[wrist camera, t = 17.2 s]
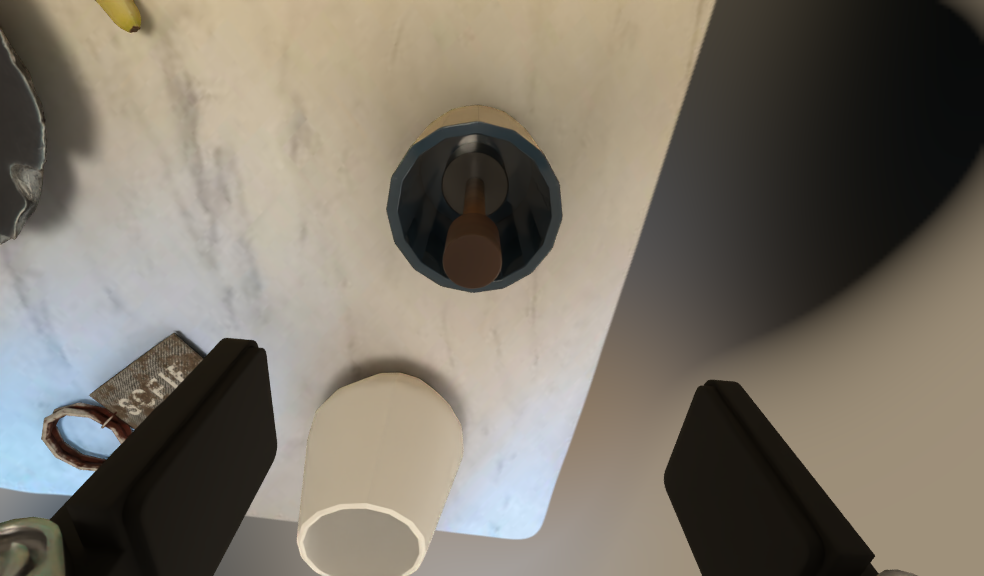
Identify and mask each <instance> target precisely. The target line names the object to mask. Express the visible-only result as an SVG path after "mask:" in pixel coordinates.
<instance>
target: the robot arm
mask: <svg viewBox="0 0 984 576" xmlns="http://www.w3.org/2000/svg"><path fill="white" fill-rule="evenodd" d="M276 451H277V438H276V430H275V422H274V413H273V405H272V397H271V389H270V380H269V372H268V364H267V356H266V351H265V349H263V348H258V344H257V343H256V341H254V340H245V339H233V338H224V339H222V340H221V341H220V342H219V343H218V344H217V345H216V346H215V347H214V348H213V349H212V350H211V352H210V353H209V354H208V355H207V356H206V357H205V358H204V359H203V360H202V361H201V362H200V363H199V364H198V365H197V366H196V367H195V368H194V370H193V371H192V372H191V373H190V374H189V375H188V376H187V377H186V378H185V379H184V380H183V381H182V382H181V383H180V384H179V385H178V386H177V388H176V389H175V390H174V391H173V392H172V393H171V394H170V395H169V396H168V397H167V398H166V399H165V400H164V401H163V402H162V403H161V404H159V405H158V406H157V407H156V408H155V409H154V410H153V411H152V412H151V413H150V414H149V415H148V417H147V418H146V419H145V420H144V421H143V422H142V423H141V424H140V425H139V426H138V427H137V428H136V429H135V430H134V431H133V432H132V433H131V434H130V435H129V437H128V438H127V439H126V440H125V441H124V442H123V443H122V444H121V445H120V446H119V447H118V448H117V449H116V450H115V451H114V452H113V453H112V454H111V456H110V457H109V458H108V459H107V460H106V461H105V462H104V463H103V464H102V465H101V466H100V467H99V468H98V469H97V470H96V471H95V472H94V473H93V474H92V476H91V477H90V478H89V479H88V480H87V481H86V482H85V483H84V484H83V485H82V486H81V487H80V488H79V489H78V490H77V491H76V492H75V493H74V495H73V496H72V497H71V498H70V499H69V500H68V501H67V502H66V503H65V504H64V505H63V506H62V507H61V508H60V509H59V510H58V511H57V513H56V514H55V515H54V516H53V517H52V518H51V519H50V520H49V519H44V518H37V517H28V518H20V519H13V520H9V521H6V522H2V523H0V576H213V575H214V573H215V571H216V569H217V567H218V566H219V564H220V562H221V560H222V558H223V556H224V554H225V552H226V550H227V549H228V547H229V545H230V543H231V541H232V539H233V537H234V535H235V533H236V531H237V530H238V528H239V526H240V524H241V522H242V520H243V518H244V516H245V514H246V512H247V511H248V509H249V507H250V505H251V503H252V501H253V499H254V497H255V495H256V494H257V492H258V490H259V488H260V486H261V484H262V482H263V480H264V478H265V476H266V475H267V473H268V471H269V469H270V467H271V465H272V463H273V461H274V459H275V456H276ZM664 484H665V488H666V491H667V493H668V496H669V498H670V500H671V503H672V505H673V508H674V510H675V512H676V515H677V517H678V520H679V522H680V524H681V527H682V529H683V531H684V534H685V536H686V538H687V541H688V543H689V546H690V548H691V550H692V553H693V555H694V557H695V560H696V562H697V564H698V567H699V569H700V572H701V574H702V576H917V575H915V574H912V573H908V572H904V571H901V570H884V571H883V572H881V573H878V572H877V571H876V570H875V568H874V567H873V566H872V564H871V563H870V562H871V561H872V559H873V558H874V557H875V555H874V554H873V552H872V551H871V550H870V549H869V547H868V546H867V545H866V543H865V542H864V541H863V540H862V538H861V537H860V536H859V535H858V533H857V532H856V531H855V530H854V528H853V527H852V526H851V524H850V523H849V522H848V521H847V519H846V518H845V517H844V516H843V514H842V513H841V512H840V511H839V509H838V508H837V507H836V506H835V504H834V503H833V502H832V500H831V499H830V498H829V497H828V495H827V494H826V493H825V492H824V490H823V489H822V488H821V486H820V485H819V484H818V483H817V481H816V480H815V479H814V478H813V476H812V475H811V474H810V473H809V471H808V470H807V469H806V467H805V466H804V465H803V464H802V462H801V461H800V460H799V459H798V458H797V456H796V455H795V453H794V452H793V451H792V450H791V448H790V447H789V446H788V445H787V443H786V442H785V441H784V440H783V438H782V437H781V436H780V434H779V433H778V432H777V431H776V430H775V428H774V427H773V426H772V425H771V423H770V422H769V421H768V419H767V418H766V417H765V415H764V414H763V413H762V412H761V410H760V409H759V408H758V407H757V405H756V404H755V403H754V402H753V400H752V399H751V398H750V397H749V395H748V394H747V393H746V391H745V390H744V389H743V388H742V386H741V385H740V384H739V383H737V382H733V381H721V380H708V381H707V382H706V383H705V384H704V386H699V387H698V388H697V390H696V392H695V395H694V397H693V400H692V402H691V405H690V408H689V410H688V413H687V416H686V418H685V421H684V423H683V426H682V428H681V431H680V434H679V436H678V439H677V442H676V444H675V447H674V449H673V452H672V454H671V457H670V460H669V463H668V465H667V468H666V470H665V474H664Z"/></svg>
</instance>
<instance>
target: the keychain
mask: <svg viewBox="0 0 984 576" xmlns="http://www.w3.org/2000/svg"><path fill="white" fill-rule="evenodd" d="M202 360H203V358H202V357H201V356H200V355H199V354H198V353H196V352H195V351H194V350H193V349H192V348H191V347H190V346H188V345H187V344H186V343H185V342H184V341H183V340H181V339H180V338H179V337H178V336H177V335H176V334H174V333H173V334H172V335H170V336H169V337H167V338H166V339H165V340H163V341H162V342H160V343H159V344H158V345H156V346H155V347H153V348H152V349H151V350H149V351H148V352H146V353H145V354H144V355H142V356H141V357H140V358H138V359H137V360H135V361H134V362H133V363H131V364H130V365H129V366H127V367H126V368H125V369H123V370H122V371H120V372H119V373H118V374H116V375H115V376H114V377H112V378H111V379H110V380H108V381H107V382H106V383H104V384H103V385H102V386H100V387H99V388H98V389H96V390H95V391H94V392H92V393H91V394H90V395H89V396H91V397H92V398H93V399H95V400H96V401H97V402H99V403H100V404H101V405H103V406H104V407H105V408H103V407H99V406H95V405H91V404H86V403H82V402H80V403H76V404H72V405H68V406H64V407H61V408H57V409H55V410H54V412H53V414H51V415H50V416H48V417H46V418H44V423H43V430H42V438H41V439H42V440H43V442H44V443H45V444H46V446H47V447H48V448H49V449H50V451H51V452H52V453H53V455H54V456H55V457H56V458H58V459H60V460H62V461H64V462H66V463H68V464H70V465H72V466H74V467H76V468H78V469H80V470H91V471H96V470H97V469H98V468H99V467H100V466H101V465H102V464H103V463H104V462H105V461H106V460H107V459H102V458H97V457H93V456H88V455H84V454H82V453H80V452H79V451H78V450H76V449H75V448H73V447H72V446H70V445H69V444H67V443H66V442H64V440H63V438H62V436H61V434H60V432H59V430H58V428H57V426H56V425H57V423H58V421H59V419H60V418H62V417H64V416H66V415H69V416H78V417H88V418H91V419H93V420H94V421H96V422H98V423H100V424H102V427H101V428H104V427H107V428H109V429H111V430H112V431H113V433H114V434H115V436H116V437H117V439H118V440H119V442H120V443H121V444H122V443H123V442H124V441H125V440H126V439H127V438H128V437H129V435H130V434H131V433H132V430H131V427H132V428H134V429H136V428H137V427H138V426H139V425H140V424H141V423H142V422H143V421H144V420H145V419H146V418H147V417H148V415H149V414H150V413H151V412H152V411H153V410H154V409H155V408H156V407H157V406H158V405H159V404H161V403H162V402H163V401H164V400H165V399H166V398H167V397H168V396H169V395H170V394H171V393H172V392H173V391H174V390H175V389H176V388H177V386H178V385H179V384H180V383H181V382H182V381H183V380H184V379H185V378H186V377H187V376H188V375H189V374H190V373H191V372H192V371H193V370H194V368H195V367H196V366H197V365H198V364H199V363H200V362H201V361H202ZM130 426H131V427H130Z"/></svg>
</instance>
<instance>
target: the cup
mask: <svg viewBox="0 0 984 576" xmlns="http://www.w3.org/2000/svg"><path fill="white" fill-rule="evenodd" d="M462 457H463V433H462V427H461V424H460V422H459V420H458V419H457V417H456V415H455V414H454V412H453V410H452V408H451V407H450V405H449V403H448V402H447V401H446V400H445V399H444V398H443V397H442V396H440V395H439V394H438V393H437V392H436V391H435V390H434V389H433V388H432V387H430V386H429V385H428V384H426V383H425V382H423V381H422V380H421V379H419V378H417V377H413V376H410V375H407V374H403V373H400V372H399V373H379V374H376V375H373V376H371V377H368V378H365V379H362V380H360V381H357V382H355V383H352V384H349V385H347V386H344V387H341V388H339V389H338V390H337V391H336V392H335V393H334V394H333V395H332V396H330V397H329V398H328V399H327V400H326V401H325V402H324V403H323V404H322V405H321V406H320V407H319V408H318V410H317V411H316V413H315V416H314V419H313V422H312V426H311V429H310V432H309V436H308V440H307V448H306V457H305V467H304V476H303V485H302V495H301V504H300V513H299V523H298V532H297V544H298V548H299V551H300V555H301V558H302V559H303V560H304V561H305V562H306V563H307V564H308V565H309V566H310V567H311V568H312V569H313V570H314V571H315V572H317V573H319V574H320V575H323V576H409V575H410V574H411V573H413V572H414V571H416V570H417V569H418V568H419V567H420V565H421V562H422V561H423V559H424V557H425V555H426V553H427V550H428V547H429V545H430V542H431V539H432V537H433V534H434V532H435V529H436V526H437V524H438V521H439V518H440V516H441V513H442V510H443V508H444V505H445V503H446V500H447V497H448V495H449V492H450V489H451V487H452V484H453V481H454V479H455V476H456V473H457V471H458V468H459V466H460V463H461V460H462Z"/></svg>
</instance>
